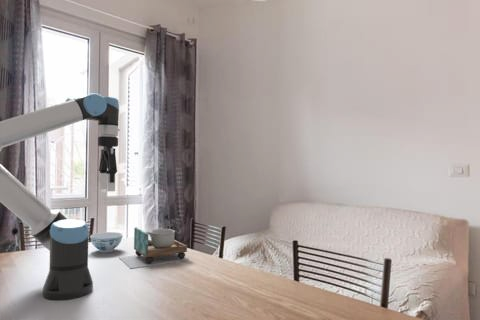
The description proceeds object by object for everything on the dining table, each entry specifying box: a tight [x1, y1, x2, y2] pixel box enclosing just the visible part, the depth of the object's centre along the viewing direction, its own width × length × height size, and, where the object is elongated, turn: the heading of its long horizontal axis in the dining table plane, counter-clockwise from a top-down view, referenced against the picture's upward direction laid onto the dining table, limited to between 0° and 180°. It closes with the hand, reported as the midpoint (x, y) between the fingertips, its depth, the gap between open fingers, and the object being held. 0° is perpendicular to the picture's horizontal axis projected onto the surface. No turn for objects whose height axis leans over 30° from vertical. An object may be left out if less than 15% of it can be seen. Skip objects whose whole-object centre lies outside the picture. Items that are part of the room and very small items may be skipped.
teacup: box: [145, 228, 176, 249], centre depth 162 cm, size 14×11×8 cm
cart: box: [133, 226, 188, 263], centre depth 161 cm, size 17×19×13 cm
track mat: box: [118, 253, 189, 270], centre depth 160 cm, size 19×26×1 cm
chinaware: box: [89, 231, 123, 253], centre depth 173 cm, size 15×15×8 cm
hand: (107, 190), depth 139 cm, fingers open, 13 cm apart
